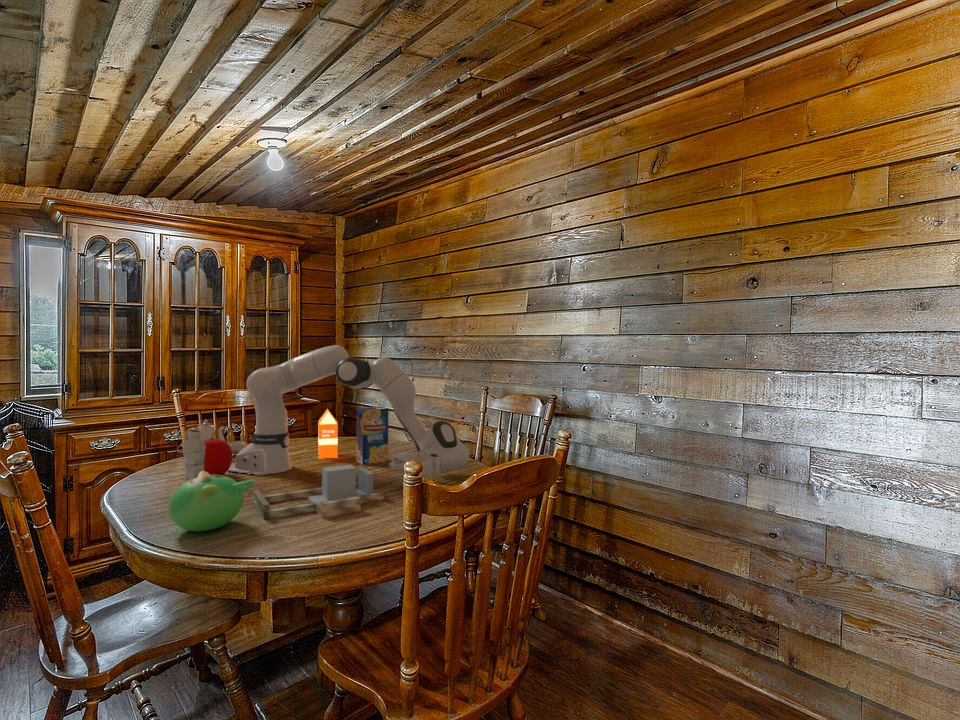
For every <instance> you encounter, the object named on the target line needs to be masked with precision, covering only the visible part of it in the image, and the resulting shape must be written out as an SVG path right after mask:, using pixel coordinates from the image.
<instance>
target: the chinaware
mask: <svg viewBox="0 0 960 720" xmlns="http://www.w3.org/2000/svg"><path fill="white" fill-rule="evenodd" d="M224 427H225V425H224V426H223V425H221V426H220V427H219V428H218V430H217V433H218V439H221V440H224V441H225V442H227V444H228V445H229V446H230V448H231V451H232V454H238V453H239V452H240V451H242V450H243V449H244V448H245V447H246V446H245V445H246V444H247V442H246V441H240V440H236V441H233V442H231V441H226V440H225V437H224V434H223V429H224ZM214 429H215V425H213V424H211V423H210V422H209V421H208V420H207V419H204V421H203V423H201V425H198V426H196V427H192V428H189V429H188V430H186V431H185V432H184V440H185V442H180V445H179V446H177V451H178V453H179V454H181V453H183V451H180V450H179V448H180V447H182V448H183V446H184V444H185V443H186V442H187V440H188V438H187V435H188V431H194V430H200V431H201V437H200V439H201V440H202V441H203V440H204V441H205V440H208V439H211V437H213V439H215V437H214Z"/></svg>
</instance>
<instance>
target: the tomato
mask: <svg viewBox="0 0 960 720" xmlns="http://www.w3.org/2000/svg"><path fill="white" fill-rule="evenodd" d="M203 442H204V444H205V446H206V450H205V457H204V471H206V472H208V473H209V474H210V475H223V476H225V474H226V473H228V470H229V468H230V467H231V466H232V462H233V456H232V451H231V448H230V446H229V445H228V444H227V442H228V441H226V440H225V441H224V440H221V439H219V438H218V437H217V438H214V439H213V437H211V439H208V440H205V441H204V440H203Z"/></svg>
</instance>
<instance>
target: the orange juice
mask: <svg viewBox="0 0 960 720" xmlns="http://www.w3.org/2000/svg"><path fill="white" fill-rule="evenodd" d="M317 423H318V424H317V425H318V429H317V431H318V433H317V434H318V437H317V443H318V444H317V445H318V449H317V451H318V455H319V456H318V460H319V459H321V460H324V459H323V458H339V457H338V456H339V455H338V454H339V453H338V449H339V448H338V445H339V441H338V440H339V438H338V436H339V435H338V434H339V433H338V429H339V425H338V420H337V419H335V417H334V416H333V414H332V413H331V412H330V410H329V409H328V408H326V410H325V412H324V413H323V414H322V416H321V417H320V418H319V420H318V422H317Z"/></svg>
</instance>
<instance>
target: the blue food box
mask: <svg viewBox="0 0 960 720" xmlns="http://www.w3.org/2000/svg"><path fill="white" fill-rule="evenodd" d="M387 461H389V408H388V407H386V406H381V405H380V406H379V405H378V406H366V407H363V406H362V407H356V463H358V462H359V463H358V464H360V463H361V464H360V465H362V466H365V465H364V464H366V465H372V464H371V463H374V464H380V463H379V462H382V463H388V462H387Z"/></svg>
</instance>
